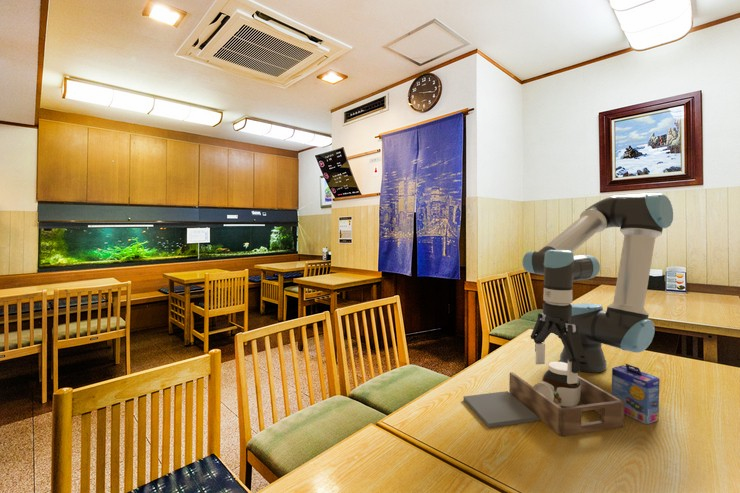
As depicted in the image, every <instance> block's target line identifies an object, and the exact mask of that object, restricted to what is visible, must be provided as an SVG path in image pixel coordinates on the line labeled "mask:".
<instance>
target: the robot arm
mask: <svg viewBox="0 0 740 493" xmlns="http://www.w3.org/2000/svg"><path fill="white" fill-rule="evenodd" d="M673 220H674V209H673V205H672V202H671V200H670V198H669V197H668V196H667V195H665V194H664V193H660V192H659V193H657V192H656V193H655V192H654V193H652V192H647V193H638V194H624V195H623V194H622V195H618V194H617V195H611V196H608V197H606V198H603V199H601V200H599V201H597V202H595V203H593V204H592V205H590V206H588V207H587V208H586V209H584V210H583V211H582V212H581V213H580V216H579V218H578V219H577V220H575V221H574V222H573V223H571V224H570V225H569V226H568V227H567V228H566V229H565V230H562V232H560V233H559V234H558V235H557V236H556V237H555V238H553V239H552V240H551V241H550V242H548V243H547V244H546V245H544V246H543V247H542V248H540V249H539V250H538V251H536V250H535V251H534V250H533V251H527V252H526V253H525V254H524V255H523V258H522V267H523V269H524V271H526V272H527V273H531V274H535V275H540V276H543V299H542V300H543V301H544V302H542V312H541V313H538V314H537V318H536V319H537V320H536V322H535V324H534V328H533V330H532V332H531V335H530V339H531V340H533V341H534V343H535V344H534V346H535V349H534V351H535V365H537V366H538V365H545V363H546V362H545V360H546V342H545V341H546V339H547V338H548V337H549V336H550V334H554V335H555V336H557V337H558V338H559V340H560V341H561V342H562V344H563V348H562V351H561V352H560V356H559V362H564V363H568V368H567V383H568V384H573V383H577V382H578V376H579V373H580V372H583V373H584V372H585V373H602V372H605V371H606V370H607V365H608V364H607V360H606V357H605V354H604V351H603V348H602V344H603V345H606V346H609V347H613V348H616V349H619V350H622V351H627V352H631V353H637V354H638V353H642V352H644V351H645V350H646V349H647V348H649V346H650V344H651V343H652V342H653V339H654V337H655V331H656V328H655V323H654V322H653V321H652V320H651V319H649V313H648V312H647V310H646V309H645V304H646V297H647V292H648V286H649V280H650V279H649V278H650V274H651V273H650V272H651V267H652V261H653V254H654V248H655V243H656V239H657V238H658V237H660V236H661V235H662V234H663V230H664V229H667V228H669V227H671V225H672V223H673ZM608 228H609V229H610V228H619V229H620V230H619V232H620V233H622V235H623V236H624V237H623V243H622V249H621V253H620V260H619V265H618V266H619V267H618V273H617V278H616V283H615V289H614V296H613V302H612V303H610V304H609V305H607V306H606V307H607V308H606V310H604V308H603V305H601V304H598V303H589V302H587V303H586V302H585V303H573V284H574V283H573V282H574V281H586V280H589V279H593V278H595V277H596V276H598V274H599V272H600V270H601V265H600V262H599V260H598V258H596V257H595V256H593V255H591V254H584V253H583V254H574V252H575V251H577V250H578V249H579V248H580V247H581V246H582V245H583V244H585V243H586V242H587V241H588V240H590V239H591V238H592V237H593V236H594V235H595V234H597V233H601V232H603V231H605V229H608Z"/></svg>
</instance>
